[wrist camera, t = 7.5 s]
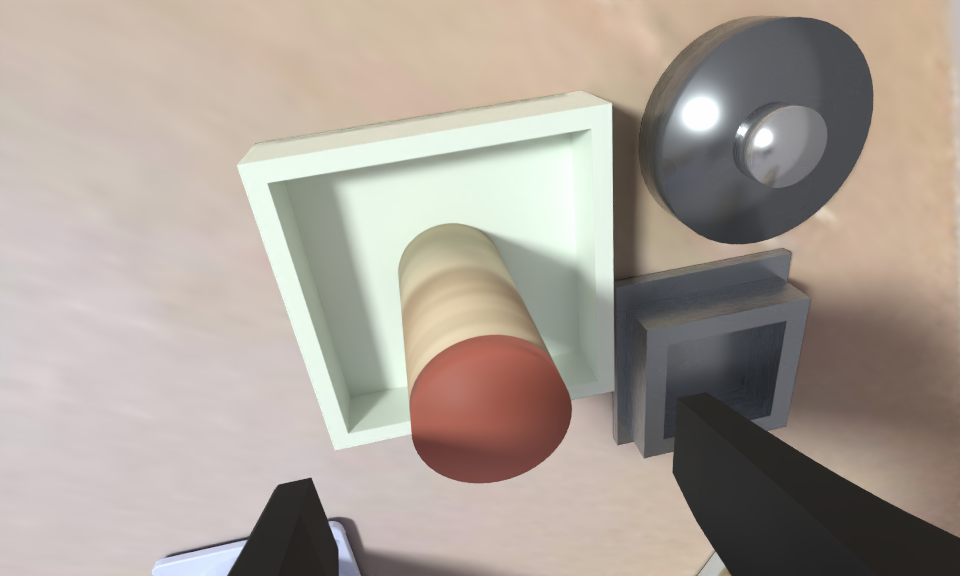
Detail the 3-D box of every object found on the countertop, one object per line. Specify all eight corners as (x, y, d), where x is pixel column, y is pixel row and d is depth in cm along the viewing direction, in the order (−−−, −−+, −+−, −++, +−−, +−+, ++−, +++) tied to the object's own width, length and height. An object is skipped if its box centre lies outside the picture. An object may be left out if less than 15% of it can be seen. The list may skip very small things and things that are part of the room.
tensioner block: (758, 405, 25) (791, 440, 23) (613, 437, 25) (634, 476, 23) (783, 248, 21) (825, 273, 19) (611, 281, 21) (636, 311, 19)
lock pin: (510, 302, 20) (581, 457, 13) (414, 328, 20) (434, 500, 13) (489, 210, 18) (559, 334, 11) (384, 239, 18) (390, 382, 11)
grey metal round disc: (813, 207, 21) (871, 235, 18) (637, 240, 20) (673, 273, 18) (849, 0, 17) (926, 0, 15) (640, 33, 17) (685, 38, 14)
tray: (590, 352, 22) (614, 390, 20) (339, 404, 21) (334, 450, 19) (582, 90, 17) (611, 103, 15) (255, 143, 16) (236, 165, 14)
